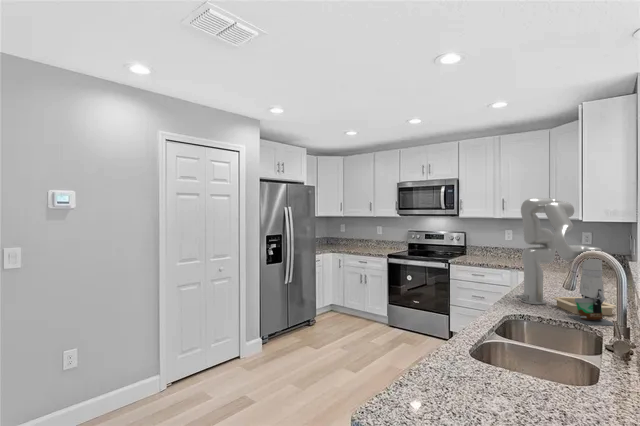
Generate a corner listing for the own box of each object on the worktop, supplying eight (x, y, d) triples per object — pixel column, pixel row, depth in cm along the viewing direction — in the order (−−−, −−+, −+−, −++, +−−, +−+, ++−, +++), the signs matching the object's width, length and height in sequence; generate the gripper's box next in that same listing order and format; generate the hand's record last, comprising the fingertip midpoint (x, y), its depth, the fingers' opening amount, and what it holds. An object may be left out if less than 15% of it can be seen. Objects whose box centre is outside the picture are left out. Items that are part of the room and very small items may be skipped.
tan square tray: (574, 315, 176) (574, 306, 176) (549, 304, 198) (549, 296, 198) (621, 316, 174) (621, 307, 174) (590, 305, 196) (590, 297, 196)
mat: (586, 325, 161) (586, 324, 161) (567, 316, 175) (567, 315, 175) (619, 325, 160) (619, 325, 160) (597, 316, 174) (597, 316, 174)
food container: (588, 320, 163) (583, 298, 165) (577, 319, 169) (573, 298, 171) (613, 319, 164) (608, 297, 166) (602, 318, 170) (597, 296, 172)
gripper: (572, 270, 177) (572, 305, 177) (596, 276, 160) (596, 316, 160) (587, 270, 176) (587, 306, 176) (614, 276, 159) (614, 316, 159)
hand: (591, 310), depth 168 cm, fingers open, 6 cm apart
